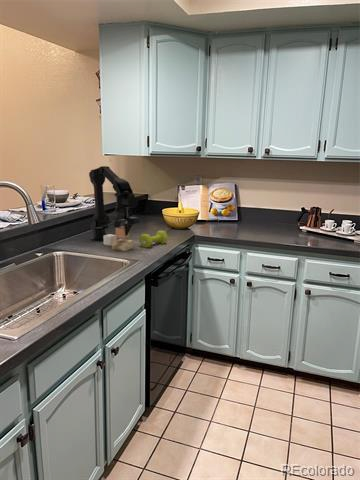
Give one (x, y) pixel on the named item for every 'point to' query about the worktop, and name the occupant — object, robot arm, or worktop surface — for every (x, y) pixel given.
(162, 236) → the dumbbell
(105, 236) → the offwhite cube
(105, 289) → the worktop surface
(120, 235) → the terracotta cube
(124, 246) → the oak base block
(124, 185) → the robot arm
